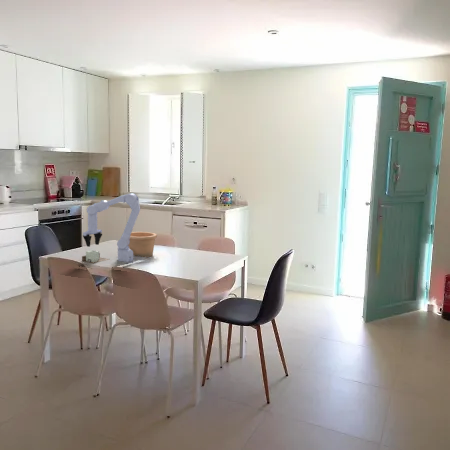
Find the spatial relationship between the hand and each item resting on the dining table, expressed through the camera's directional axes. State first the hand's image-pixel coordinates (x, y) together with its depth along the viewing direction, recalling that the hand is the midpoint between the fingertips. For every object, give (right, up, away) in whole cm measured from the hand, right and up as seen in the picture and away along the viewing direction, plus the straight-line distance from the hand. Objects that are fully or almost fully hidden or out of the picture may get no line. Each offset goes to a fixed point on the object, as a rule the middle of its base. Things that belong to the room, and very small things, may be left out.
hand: (92, 245), depth 286 cm
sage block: (+1, -9, -4) cm, 10 cm away
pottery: (+25, -8, +24) cm, 36 cm away
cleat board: (+2, -11, -1) cm, 11 cm away
